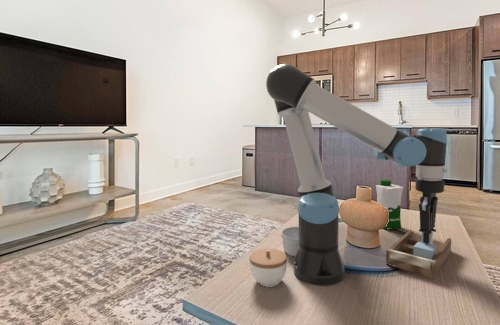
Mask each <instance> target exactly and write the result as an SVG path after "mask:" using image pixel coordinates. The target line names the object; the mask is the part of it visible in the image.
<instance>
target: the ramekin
mask: <svg viewBox="0 0 500 325" xmlns="http://www.w3.org/2000/svg"><path fill="white" fill-rule="evenodd" d="M280 234H281V235H280V236H281V240H282V248H283V250H284V253H285V254H286V255H287V254H288V255H289V256H292V257H296V254H297V251H298V248H299V226H289V227H286V228H284V229H282V230H281V232H280Z"/></svg>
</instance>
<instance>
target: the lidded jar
mask: <svg viewBox="0 0 500 325" xmlns="http://www.w3.org/2000/svg"><path fill="white" fill-rule="evenodd" d="M287 261H288V256H287V253H286V252H285V251H282V250H280V249H276V248H260V249H257V250H255V251H252V252H251V253H250V254H249V264H250V271H251V275H252V277H253V279H254V280H255V281H256V282H257V283H258V284H259V283H260V284H261V285H260V284H259V285H260V286H262V285H263V286H262V287H264V286H265V287H266V288H273V287H276V286H278V285H279V284H280V283H281V281H283V279H284V278H285V275H286V272H287V264H288V263H287Z"/></svg>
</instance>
